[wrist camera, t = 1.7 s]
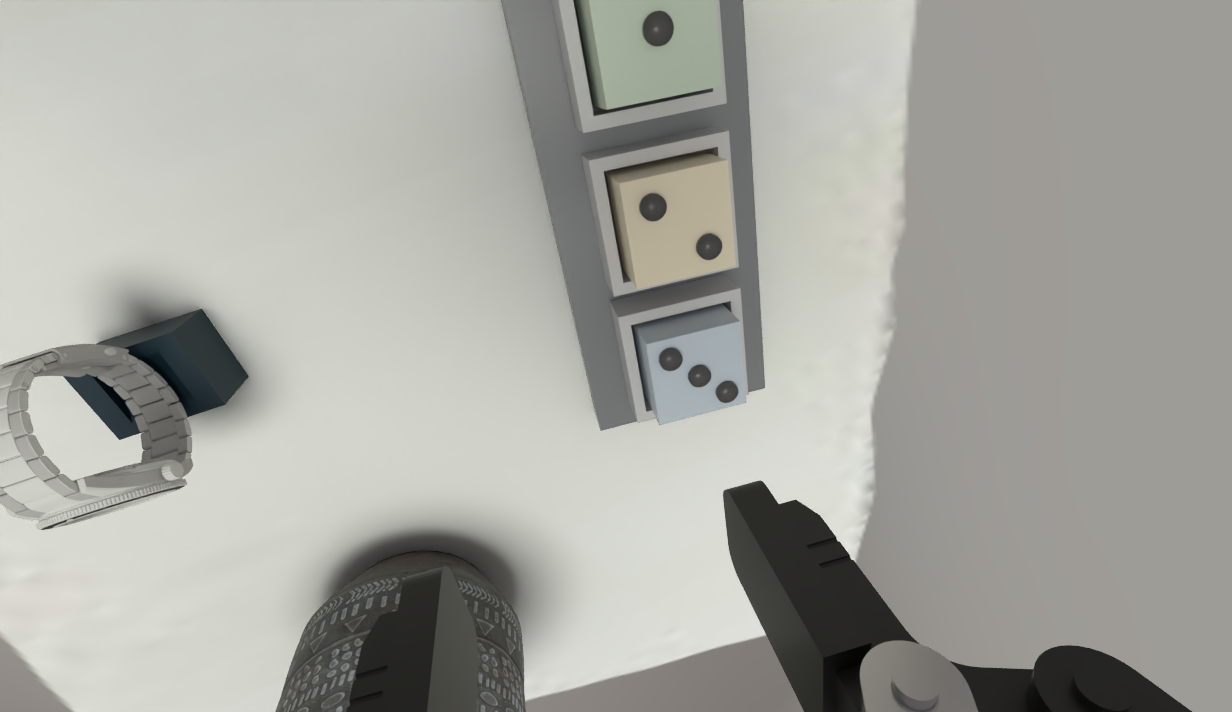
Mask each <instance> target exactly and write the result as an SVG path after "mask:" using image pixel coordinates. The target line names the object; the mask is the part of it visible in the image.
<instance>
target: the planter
mask: <svg viewBox="0 0 1232 712" xmlns="http://www.w3.org/2000/svg"><path fill="white" fill-rule="evenodd" d="M444 566H448V567H449V568H450V570H451V571H452V574H453V576H454V578H455V580H456V583H457V585H458V587H459V589H460V592H461V594H462V596H463V598H464V601H465V603H466V605H467V607H468V610H469V612H470V614H471V616H472V619H473V622H474V626H475V630H476V635H477V643H478V672H477V707H476V712H526V711H525V710H526V709H525V696H524V658H523V644H522V634H521V627H520V623H519V620H518V618H517V616H516V614H515V612H514V610H513V609H512V607H511V606H510V604H509V603H508V601H507V600H506V599H505V598H504V596H503V595H502V594H501V593H500V591H499V590H498V589H497V588H496V587H495V586H494V585H493V584H492V583H491V582H490V581H489V579H488V578H486V577H485V576H484V575H483V574H482V573H481V572H480V571H479V570H478V569H477V568H476V567H475V566H473V565H472V564H471V563H469V562H467V561H466V560H464V559H462V558H459V557H457V556H454V555H451V554H447V553H442V552H435V551H416V552H408V553H403V554H399V555H396V556H393V557H390V558H387V559H385V560H383V561H381V562H379V563H377V564H376V565H374V566H373V567H371V568H370V569H368V570H367V571H365V572H364V573H362V574H361V575H359V576H358V577H356V578H355V579H354V580H352V581H351V582H350V583H348V584H347V585H346V586H344V587H343V588H342V589H341V590H340V591H338V592H337V593H336V594H335V595H333V596H332V597H331V598H330V599H329V600H328V601H327V602H326V603H325V604H324V605H323V606H321V607H320V609H319V610H318V611H317V612H316V613H315V614H314V615H313V616H312V618H311V619H310V621H309V622H308V624H307V625H306V627H305V629H304V631H303V634H302V636H301V639H300V641H299V644H298V646H297V649H296V652H295V654H294V657H293V660H292V662H291V665H290V668H289V672H288V675H287V678H286V681H285V684H284V688H283V691H282V695H281V698H280V701H279V703H278V706H277V709H276V712H346V711H347V707H349V706H350V702H349V698H350V694H351V689H352V685H353V681H355V680H356V676H355V672H356V668H357V664H358V660H359V655H360V651H361V647H362V644H363V642H364V640H365V639H366V637H367V636H368V634H369V632H370V631H371V629H372V627H373V626H374V624H375V622H376V621H377V619H378V618H379V616H380V615H382V614H386V613H390V612H393V611H397V610H398V605H399V600H400V594H401V589H402V584H403V581H404V579H405V578H406V577H407V576H411V575H415V574H418V573H422V572H426V571H429V570H433V569H437V568H440V567H444Z"/></svg>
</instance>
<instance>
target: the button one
mask: <svg viewBox="0 0 1232 712" xmlns="http://www.w3.org/2000/svg"><path fill="white" fill-rule="evenodd" d="M575 3H576V8H577V14H578V20H579V25H580V31H581V37H582V42H583V48H584V54H585V59H586V65H587V71H588V76H589V82H590V88H591V93H592V99H593V105H594V107H598V108H602V109H606V110H608V109H613V108H618V107H623V106H628V105H633V104H637V103H642V102H647V101H652V100H657V99H662V98H667V97H671V96H676V95H681V94H686V93H691V92H696V91H701V90H706V89H710V88H715V87H720V86H722V76H721V63H720V50H719V36H718V23H717V10H716V0H575Z"/></svg>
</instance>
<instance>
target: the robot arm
mask: <svg viewBox="0 0 1232 712" xmlns="http://www.w3.org/2000/svg"><path fill="white" fill-rule="evenodd" d="M723 499H724V509H725V518H726V527H727V536H728V545H729V551H730V555H731V559H732V562H733V565H734V568H735V571H736V573H737V576H738V578H739V580H740V582H741V584H742V586H743V588H744V590H745V592H746V594H747V596H748V598H749V600H750V602H751V604H752V607H753V609H754V611H755V613H756V615H757V617H758V619H759V621H760V623H761V625H762V627H763V629H764V631H765V633H766V635H767V637H768V639H769V641H770V643H771V645H772V647H773V649H774V651H775V653H776V655H777V657H778V659H779V661H780V663H781V666H782V668H783V670H784V672H785V674H786V676H787V678H788V680H789V682H790V684H791V686H792V688H793V690H794V692H795V694H796V696H797V698H798V700H799V702H800V704H801V706H802V708H803V710H804V712H1192V711H1190V710H1189V709H1188V708H1186V707H1185V706H1183V705H1182V704H1181V703H1179V702H1178V701H1176V700H1175V699H1174V698H1172V697H1171V696H1170V695H1168V694H1167V693H1166V692H1164V691H1163V690H1162V689H1160V688H1159V687H1157V686H1156V685H1155V684H1153V683H1152V682H1151V681H1149V680H1148V679H1146V678H1145V677H1144V676H1142V675H1141V674H1140V673H1138V672H1137V671H1136V670H1134V669H1132V668H1131V667H1130V666H1128V665H1126V664H1125V663H1123V662H1121V661H1119V660H1118V659H1116V658H1114V657H1112V656H1110V655H1107V654H1105V653H1102V652H1100V651H1096V650H1093V649H1090V648H1085V647H1080V646H1058V647H1054V648H1051V649H1049V650H1047V651H1045V652H1043V653H1042V654H1041V655H1040V656H1039V657H1038V659H1037V661H1036V662H1035V666H1034V669H1007V668H1004V669H1003V668H980V667H971V666H965V665H961V664H957V663H954V662H951V661H949V660H948V659H946V658H945V657H944V656H942V655H941V654H940V653H938V652H936V651H934V650H933V649H931V648H929V647H926V646H923V645H921V644H919V643H918V642H917V641H916V640H914V638H912V637H911V635H910V634H909V633H908V632H907V631H906V630H905V628H904V627H903V626H902V624H901V623H900V622H899V620H898V619H897V618H896V616H895V615H894V614H893V612H892V611H891V610H890V609H889V607H888V606H887V604H886V603H885V602H884V601H883V599H882V598H881V596H880V595H879V594H878V592H877V591H876V590H875V588H874V587H873V586H872V584H871V583H870V582H869V580H868V579H867V578H866V576H865V575H864V574H863V572H862V571H861V570H860V568H859V567H858V566H857V564H856V563H855V562H854V560H851V558H850V555H849V554H848V552H847V551H846V550H845V548H844V547H843V546H842V544H841V543H840V542H838V541H837V539H836V536H835V535H834V534H833V532H832V531H831V530H830V528H829V527H828V526H827V524H826V523H825V522H824V520H823V519H822V518H821V516H820V515H818V514H817V513H815V512H814V511H812V510H811V509H809V508H808V507H806V506H805V505H803V504H802V503H800V502H798V501H797V500H793V501H789V502H786V503H782V504H778V503H777V501H776V500H775V498H774V497H773V495H772V494H771V492H770V491H769V489H768V488H767V486H766V485H765V484H764V483H763V482H762V481H756V482H753V483H749V484H745V485H742V486H738V487H734V488H731V489H727V490H724V492H723ZM477 672H478V643H477V635H476V630H475V626H474V622H473V619H472V616H471V614H470V612H469V610H468V607H467V605H466V603H465V601H464V598H463V596H462V594H461V592H460V589H459V587H458V585H457V583H456V580H455V578H454V576H453V574H452V571H451V570H450V568H449V567H448V566H444V567H440V568H437V569H433V570H429V571H426V572H422V573H418V574H415V575H411V576H407V577H406V578H405V579H404V581H403V584H402V589H401V594H400V600H399V605H398V610H397V611H393V612H390V613H386V614H382V615H380V616H379V618H378V619H377V621H376V622H375V624H374V626H373V627H372V629H371V631H370V632H369V634H368V636H367V637H366V639H365V640H364V642H363V644H362V647H361V651H360V655H359V660H358V664H357V668H356V672H355V676H356V680H355V681H353V685H352V689H351V694H350V698H349V702H350V706H349V707H347V711H346V712H476V707H477Z"/></svg>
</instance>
